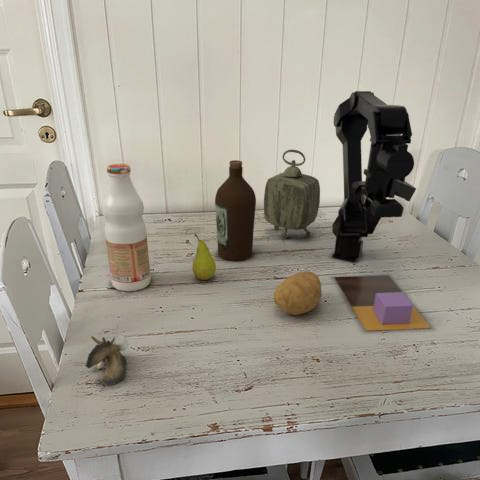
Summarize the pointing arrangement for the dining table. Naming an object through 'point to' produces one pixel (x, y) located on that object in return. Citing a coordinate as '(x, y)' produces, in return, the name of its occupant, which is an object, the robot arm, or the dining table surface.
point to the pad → (374, 324)
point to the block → (392, 308)
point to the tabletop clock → (292, 198)
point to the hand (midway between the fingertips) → (369, 233)
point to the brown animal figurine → (109, 358)
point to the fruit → (203, 262)
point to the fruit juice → (125, 231)
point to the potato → (298, 293)
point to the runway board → (365, 288)
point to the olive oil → (235, 215)
